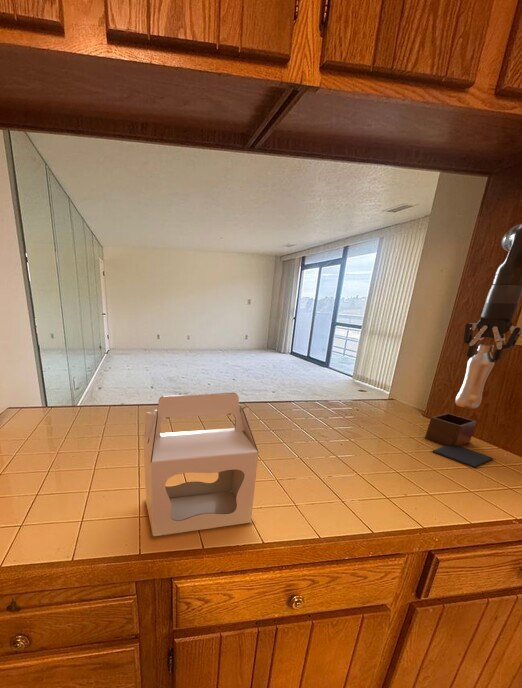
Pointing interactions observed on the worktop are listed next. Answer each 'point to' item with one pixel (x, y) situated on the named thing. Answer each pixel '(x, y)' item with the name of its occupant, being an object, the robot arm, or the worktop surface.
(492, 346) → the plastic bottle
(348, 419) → the worktop surface
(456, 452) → the mat
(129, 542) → the worktop surface
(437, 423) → the holder
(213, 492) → the gable box
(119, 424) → the worktop surface
